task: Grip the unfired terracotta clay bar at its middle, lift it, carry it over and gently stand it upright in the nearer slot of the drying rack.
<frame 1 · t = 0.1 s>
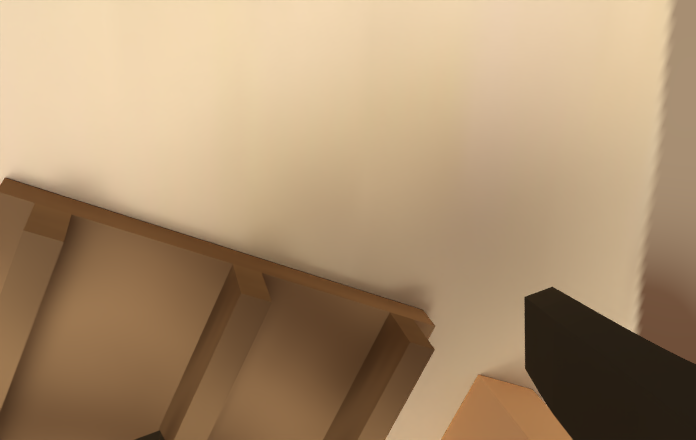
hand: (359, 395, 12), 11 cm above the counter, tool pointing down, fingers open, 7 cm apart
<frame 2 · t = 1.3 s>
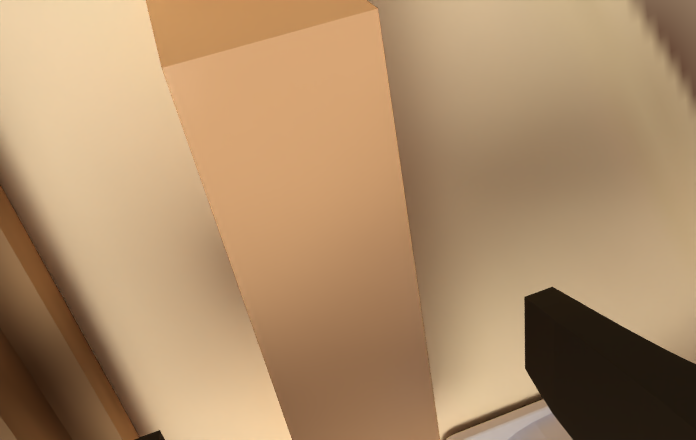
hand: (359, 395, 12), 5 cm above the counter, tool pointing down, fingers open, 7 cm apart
clay bar: (295, 248, 17), on the counter
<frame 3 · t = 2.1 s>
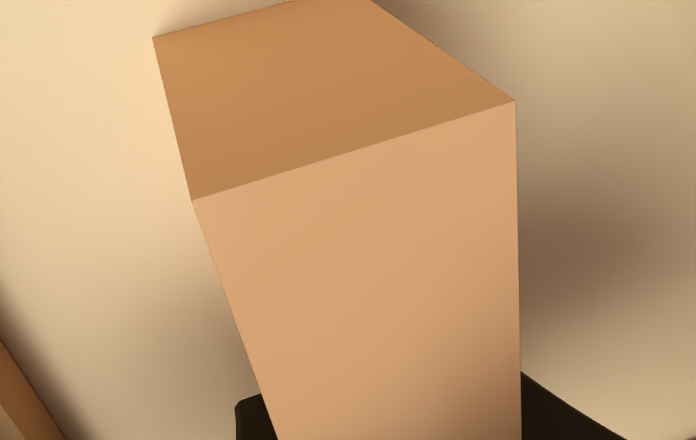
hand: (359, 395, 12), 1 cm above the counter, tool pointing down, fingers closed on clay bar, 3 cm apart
clay bar: (333, 339, 14), on the counter, touching gripper
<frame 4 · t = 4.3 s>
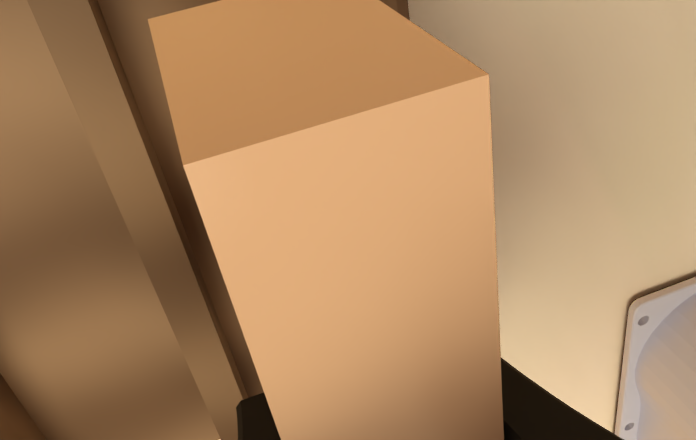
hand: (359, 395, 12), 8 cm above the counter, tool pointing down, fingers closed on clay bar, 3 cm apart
drying rack: (165, 221, 19), on the counter
clay bar: (326, 321, 14), point 6 cm above the counter, touching gripper
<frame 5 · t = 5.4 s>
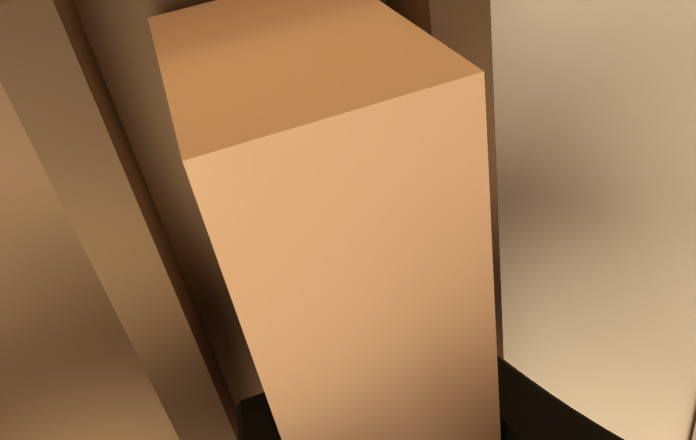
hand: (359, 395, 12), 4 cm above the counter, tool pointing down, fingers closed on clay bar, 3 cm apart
drying rack: (180, 313, 15), on the counter
clay bar: (324, 318, 14), point 2 cm above the counter, touching gripper
when the fingers open (4 cm above the counter, at t = 6.2 s): clay bar stays where it is, resting on drying rack.
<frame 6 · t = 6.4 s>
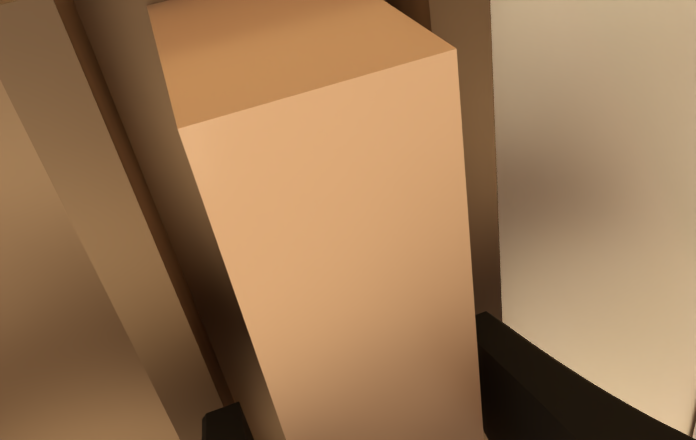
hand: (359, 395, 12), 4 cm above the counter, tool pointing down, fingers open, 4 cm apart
drying rack: (181, 313, 15), on the counter
clay bar: (317, 299, 15), point 1 cm above the counter, touching drying rack
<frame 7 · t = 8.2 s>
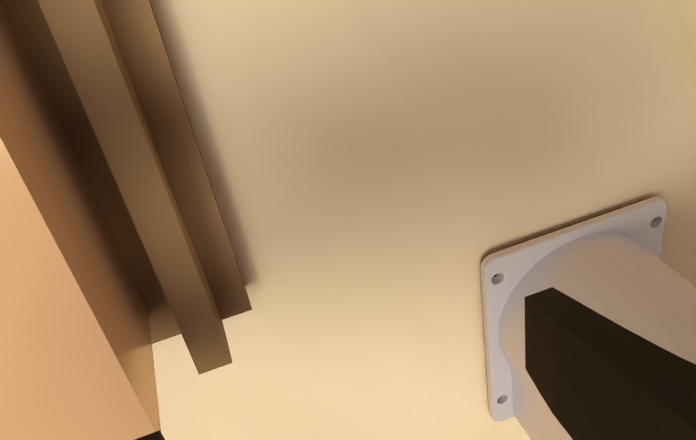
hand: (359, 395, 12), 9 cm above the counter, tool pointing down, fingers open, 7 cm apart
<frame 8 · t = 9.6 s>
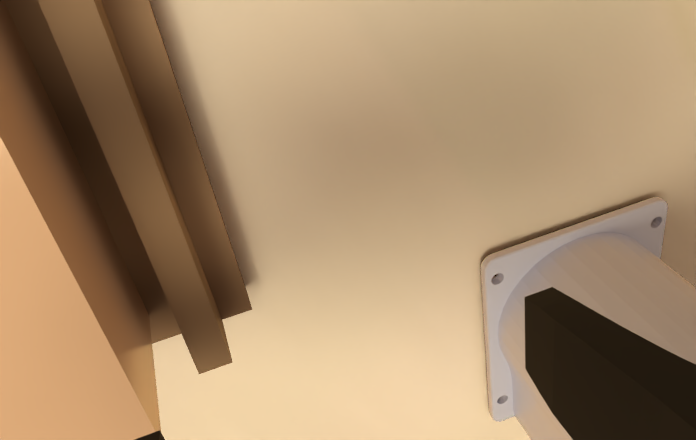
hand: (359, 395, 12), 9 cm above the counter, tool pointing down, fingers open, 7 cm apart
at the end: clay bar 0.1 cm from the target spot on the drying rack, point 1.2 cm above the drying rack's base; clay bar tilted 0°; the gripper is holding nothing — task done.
